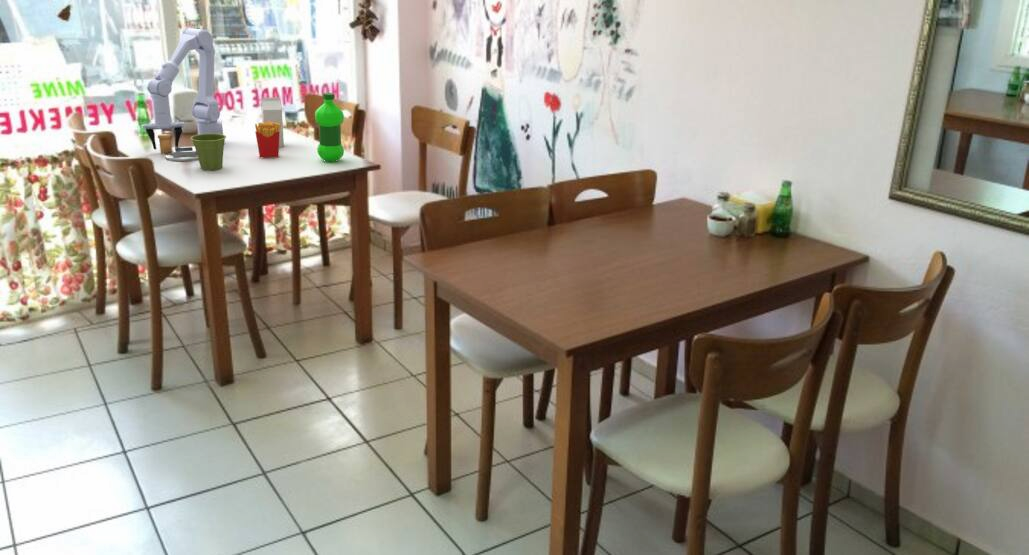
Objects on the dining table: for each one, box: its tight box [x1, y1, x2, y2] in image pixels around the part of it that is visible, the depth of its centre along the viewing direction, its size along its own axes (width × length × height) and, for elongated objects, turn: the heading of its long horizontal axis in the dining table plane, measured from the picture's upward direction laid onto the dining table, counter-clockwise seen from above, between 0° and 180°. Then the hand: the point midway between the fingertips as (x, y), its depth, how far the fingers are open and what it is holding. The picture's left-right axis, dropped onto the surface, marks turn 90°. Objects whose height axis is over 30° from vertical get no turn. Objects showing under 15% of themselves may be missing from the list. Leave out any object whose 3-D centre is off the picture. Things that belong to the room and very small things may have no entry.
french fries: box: [254, 122, 281, 158], centre depth 314 cm, size 9×4×13 cm, turn 108°
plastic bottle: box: [314, 92, 345, 162], centre depth 311 cm, size 10×10×25 cm
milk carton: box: [260, 97, 285, 148], centre depth 330 cm, size 7×7×19 cm
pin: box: [157, 133, 172, 155], centre depth 314 cm, size 5×5×7 cm
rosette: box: [164, 145, 199, 163], centre depth 310 cm, size 20×13×3 cm, turn 113°
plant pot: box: [190, 134, 227, 171], centre depth 295 cm, size 12×12×11 cm
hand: (165, 148), depth 314 cm, fingers open, 7 cm apart
